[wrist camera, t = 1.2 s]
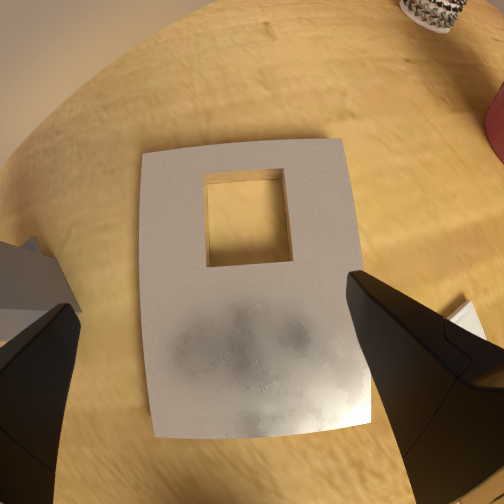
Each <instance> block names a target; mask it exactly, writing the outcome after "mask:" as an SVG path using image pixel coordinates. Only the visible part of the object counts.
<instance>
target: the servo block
mask: <svg viewBox="0 0 504 504" xmlns="http://www.w3.org/2000/svg"><path fill="white" fill-rule="evenodd" d="M59 303H70V304H71V305H72V307H73V309H74V311H75V313H76V315H79V314H80V313H81V312H82V311H81V309H80V307H79V305H78V303H77V301H76V299H75V297H74V295H73V293H72V291H71V289H70V287H69V285H68V283H67V281H66V278H65V276H64V274H63V272H62V270H61V268H60V265H59V263H58V261H57V259H55V258H52V257H49V256H45V255H43V254H42V252H41V249H40V247H39V244H38V241H37V239H36V238H35V237H33V236H32V237H31V238H30V239H29V240H28V241H27V242H26V243H25V244H24V245H23V246H22V247H21V248H19V247H16V246H13V245H10V244H7V243H4V242H1V241H0V341H10V340H11V339H12V338H14V337H15V336H16V335H18V334H19V333H20V332H21V331H23V330H24V329H25V328H27V327H28V326H29V325H31V324H32V323H33V322H35V321H36V320H37V319H39V318H40V317H41V316H43V315H44V314H45V313H47V312H48V311H49V310H51V309H52V308H53V307H55V306H56V305H58V304H59Z"/></svg>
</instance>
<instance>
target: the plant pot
mask: <svg viewBox="0 0 504 504" xmlns="http://www.w3.org/2000/svg"><path fill="white" fill-rule="evenodd" d="M484 126H485V131H486V134H487V137H488V140H489V142H490V144H491V146H492V148H493V150H494V152H495V153H496V155H497V156H498V157H499V159H500V160H501V161H502V163H503V164H504V82H503V83H502V85H501V87H500V89H499V91H498V93H497V94H496V96H495V98H494V100H493V102H492V104H491V106H490V107H489V109H488V111H487V112H486V114H485V118H484Z"/></svg>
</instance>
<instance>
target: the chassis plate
mask: <svg viewBox="0 0 504 504" xmlns="http://www.w3.org/2000/svg"><path fill="white" fill-rule="evenodd" d="M267 179H282V186H283V195H284V204H285V214H286V223H287V233H288V244H289V254H290V261H288V262H275V263H262V264H248V265H235V266H221V267H210V247H209V224H208V195H207V184H215V183H227V182H239V181H252V180H267ZM356 270H362V271H363V262H362V254H361V246H360V239H359V232H358V225H357V218H356V212H355V206H354V200H353V194H352V188H351V183H350V177H349V172H348V167H347V162H346V157H345V152H344V148H343V143H342V139H286V140H265V141H250V142H237V143H225V144H214V145H205V146H196V147H187V148H179V149H172V150H165V151H158V152H151V153H145V154H142V167H141V184H140V207H139V286H140V309H141V326H142V340H143V351H144V362H145V372H146V381H147V389H148V397H149V404H150V411H151V418H152V424H153V430H154V436H155V437H162V438H180V439H242V438H261V437H274V436H285V435H295V434H303V433H311V432H318V431H325V430H331V429H337V428H343V427H349V426H354V425H359V424H364V423H369V422H371V372H370V369H369V367H368V364H367V362H366V360H365V357H364V355H363V352H362V350H361V347H360V345H359V342H358V339H357V336H356V332H355V329H354V325H353V322H352V318H351V315H350V311H349V308H348V304H347V301H346V284H347V275H348V273H349V272H350V271H356Z"/></svg>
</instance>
